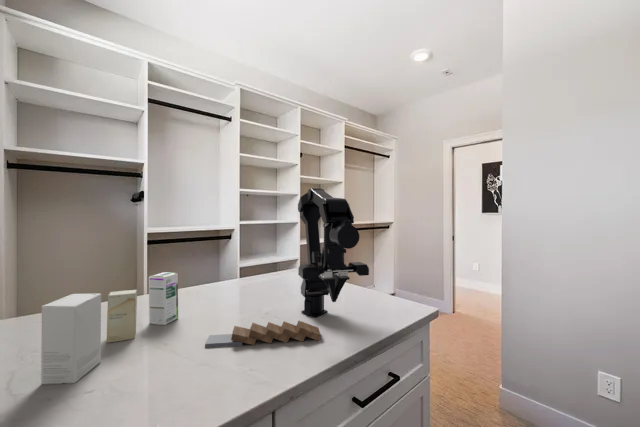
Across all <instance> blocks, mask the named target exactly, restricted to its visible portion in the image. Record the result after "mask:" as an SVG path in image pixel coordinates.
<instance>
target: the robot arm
mask: <svg viewBox="0 0 640 427" xmlns="http://www.w3.org/2000/svg"><path fill="white" fill-rule="evenodd" d="M297 211H298V212H299V218H300V220H301V221H302V222H303V223H304V226H305V239H306V241H305V242H306V253H307V264H300V265H299V267H298V276H299V277H300V278H301V279H302V281H301V284H300V285H301V286H300V293H301V296H303V298H304V301H303V302H304V305H303V307H304V310H301V314H304V315H307V316H309V317H310V316H311V317H313V318H317V317H319V316H322V315H325V314H327V313H328V310H326V309H325V296H330V300H331V302H332V303H336V302H337V300H338V297H339V296H340V294H341V292H342V289H343V287H344V285H345V283H346V282H347V280H350V279H351V278H350V276H349V275H348V274H349V273H356V274H357V275H358V276H360V277H362V276H369V275H370V267H369V266H368V264H366V263H364V262H361V261H354V262H351V261H350V262H349V263H348V265H347V264H346V263H345V260H346V259H345V257H346V256H345V254H346V253H347V249H348V250H349V249H350V250H351V249H353V248H355V247H356V246H357V245H358V244H359V241H360V232H359V231H358V229H357V228H356V227H355V226H354V225H353V224H354V223H355V220H354V219H355V217H354V214H353V212H352V210H351V206H350V203H348V200H347V199H346V198H343V197H342V198H341V197H333V196H332V195H330V194H329V193H328V192H326V191H325V189H322V188H319V187H318V188H309V189H308V190H307V192H306V193H305V194H303V195H302V196H300V198H299V200H298V204H297ZM320 219H321V220H322V222H323V225H322V226H323V247H322V248H321V240H320V228H319V221H320Z"/></svg>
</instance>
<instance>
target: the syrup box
mask: <svg viewBox="0 0 640 427" xmlns="http://www.w3.org/2000/svg"><path fill="white" fill-rule="evenodd" d="M178 278H179V274H178V273H177V272H172V271H171V272H170V271H168V272H167V271H166V272H165V271H164V272H163V271H162V272H161V273H160V272H159V273H157V274H154V275H149V276H148V309H149V310H148V321H149V324H150V325H151V324H152V325H160V326H166V325H168V324H169V323H171V322H174V321H175V320H177V319H179V281H178V280H179V279H178Z"/></svg>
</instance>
